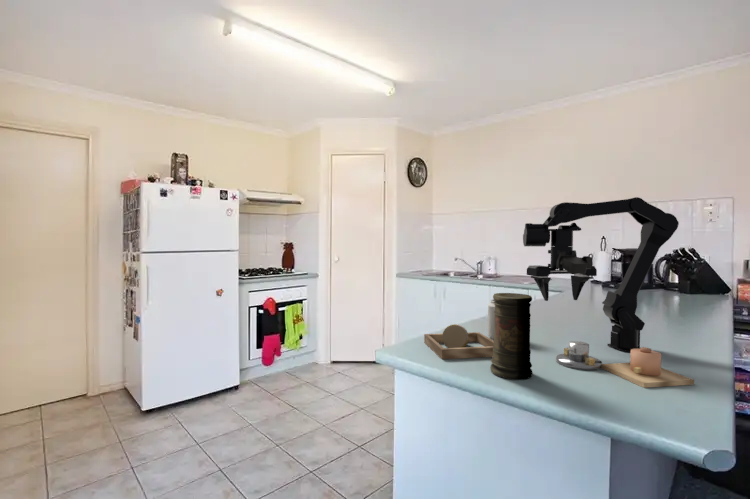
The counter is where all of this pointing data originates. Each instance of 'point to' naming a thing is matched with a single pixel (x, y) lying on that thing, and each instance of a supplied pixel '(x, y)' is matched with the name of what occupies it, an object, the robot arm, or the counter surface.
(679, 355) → the counter surface
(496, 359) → the container
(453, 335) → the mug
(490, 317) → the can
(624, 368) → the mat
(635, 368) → the cap
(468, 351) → the coaster frame
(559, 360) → the metal flange
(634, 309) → the robot arm
